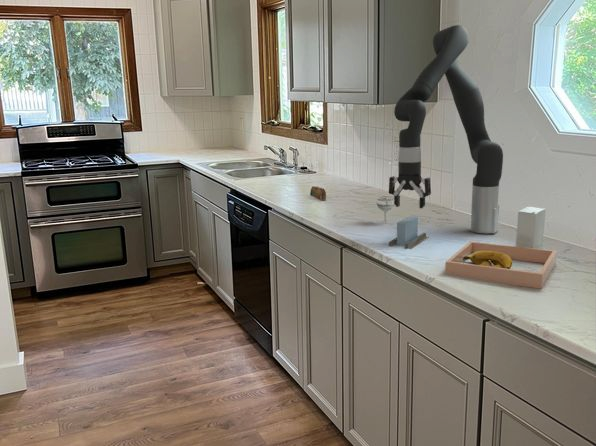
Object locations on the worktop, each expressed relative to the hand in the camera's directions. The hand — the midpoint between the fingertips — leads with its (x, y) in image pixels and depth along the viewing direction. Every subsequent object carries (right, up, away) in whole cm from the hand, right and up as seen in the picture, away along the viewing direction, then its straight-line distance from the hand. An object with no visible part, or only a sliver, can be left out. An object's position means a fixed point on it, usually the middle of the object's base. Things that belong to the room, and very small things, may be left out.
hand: (409, 207), depth 196 cm
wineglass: (-4, -8, +29) cm, 30 cm away
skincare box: (+36, -16, -13) cm, 41 cm away
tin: (-28, +4, +81) cm, 86 cm away
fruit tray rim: (+22, -19, -27) cm, 40 cm away
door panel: (0, -12, +2) cm, 12 cm away
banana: (+16, -20, -28) cm, 38 cm away
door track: (0, -13, +3) cm, 13 cm away
